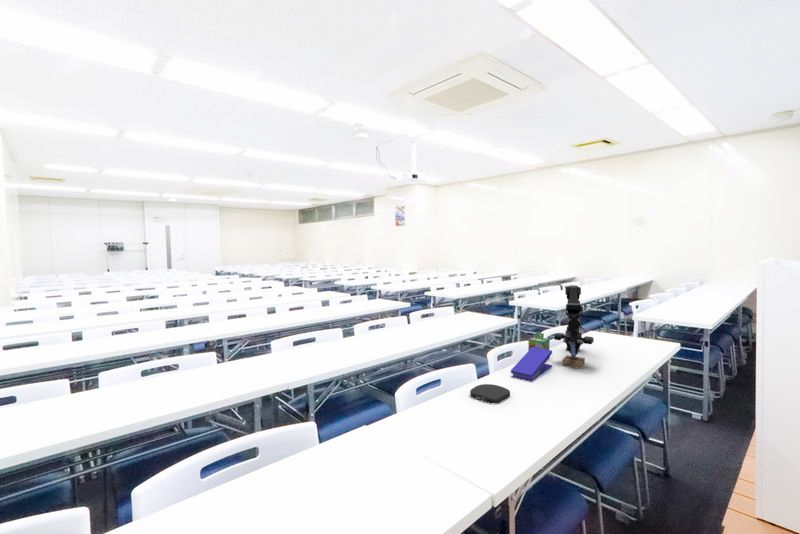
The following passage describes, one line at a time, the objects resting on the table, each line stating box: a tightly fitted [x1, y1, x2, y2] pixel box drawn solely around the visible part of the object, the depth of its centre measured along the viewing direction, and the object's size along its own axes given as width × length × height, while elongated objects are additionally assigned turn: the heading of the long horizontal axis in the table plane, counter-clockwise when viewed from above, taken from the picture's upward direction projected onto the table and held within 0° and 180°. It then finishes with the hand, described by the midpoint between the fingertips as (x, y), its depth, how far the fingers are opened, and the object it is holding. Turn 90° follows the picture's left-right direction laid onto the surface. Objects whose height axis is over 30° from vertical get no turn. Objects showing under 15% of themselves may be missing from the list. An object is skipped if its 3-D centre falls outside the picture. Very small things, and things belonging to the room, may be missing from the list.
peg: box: [570, 343, 577, 358], centre depth 209 cm, size 2×2×8 cm
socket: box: [561, 354, 586, 370], centre depth 209 cm, size 9×9×4 cm
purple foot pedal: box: [510, 347, 553, 382], centre depth 200 cm, size 12×28×10 cm, turn 140°
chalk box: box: [527, 332, 551, 352], centre depth 221 cm, size 9×9×15 cm
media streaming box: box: [469, 383, 511, 404], centre depth 171 cm, size 15×15×3 cm
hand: (573, 354), depth 209 cm, fingers closed on peg, 2 cm apart
